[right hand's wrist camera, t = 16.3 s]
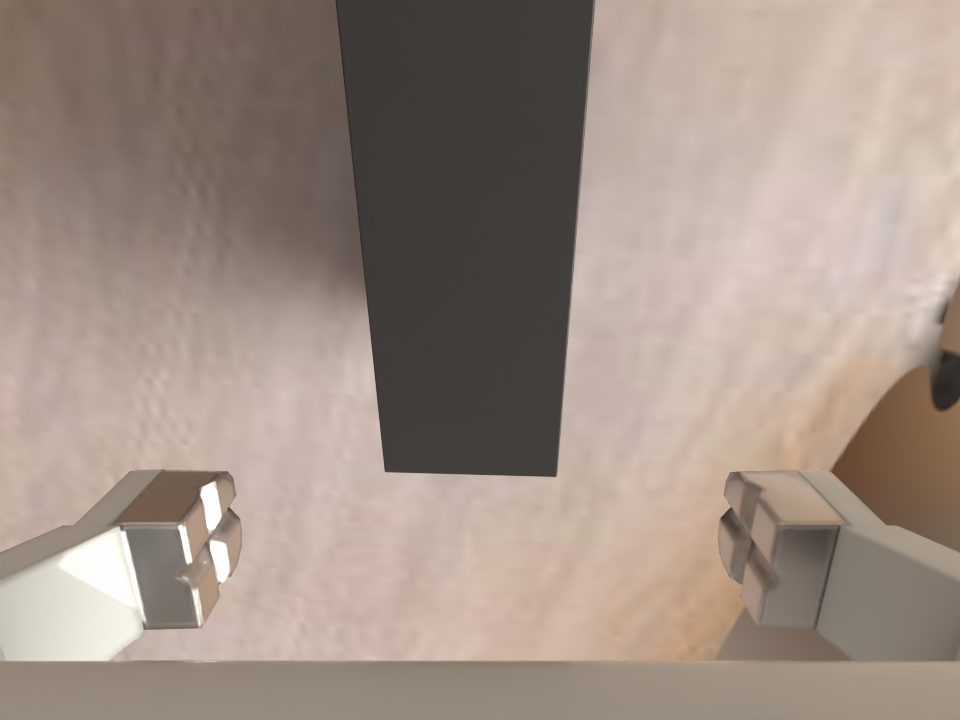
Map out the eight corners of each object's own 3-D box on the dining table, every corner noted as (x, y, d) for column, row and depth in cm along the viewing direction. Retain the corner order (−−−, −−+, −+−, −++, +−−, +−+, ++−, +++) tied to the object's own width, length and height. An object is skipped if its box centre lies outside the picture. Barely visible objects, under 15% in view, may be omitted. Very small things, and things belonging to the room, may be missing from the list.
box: (541, 316, 31) (556, 477, 21) (425, 314, 31) (384, 472, 21) (579, -376, 19) (659, -798, 9) (390, -372, 19) (253, -779, 9)
